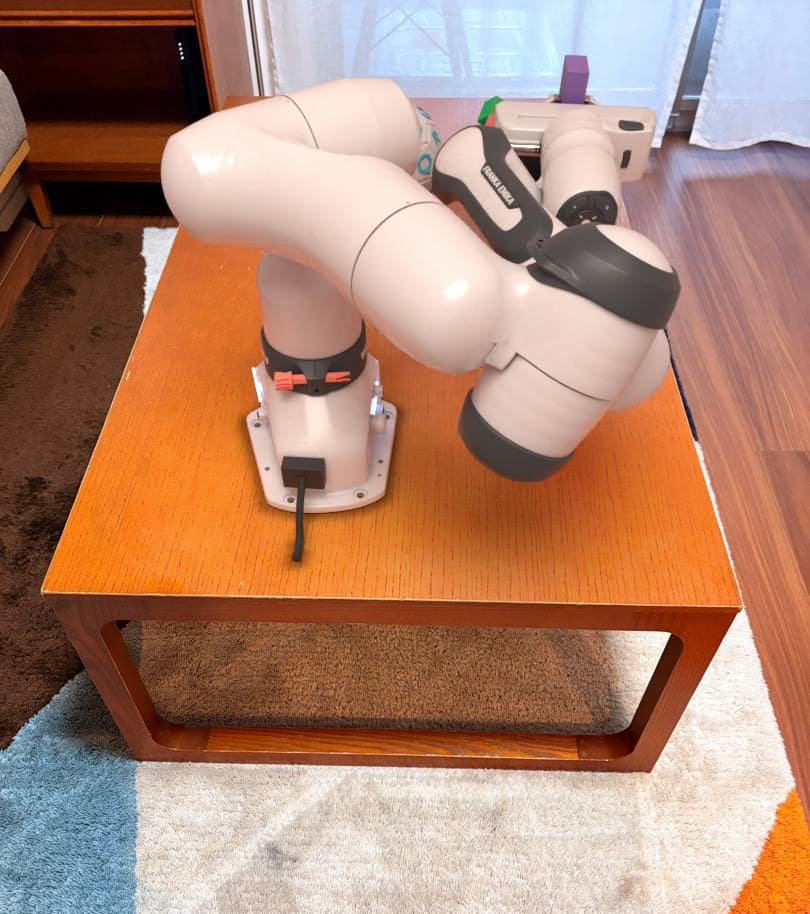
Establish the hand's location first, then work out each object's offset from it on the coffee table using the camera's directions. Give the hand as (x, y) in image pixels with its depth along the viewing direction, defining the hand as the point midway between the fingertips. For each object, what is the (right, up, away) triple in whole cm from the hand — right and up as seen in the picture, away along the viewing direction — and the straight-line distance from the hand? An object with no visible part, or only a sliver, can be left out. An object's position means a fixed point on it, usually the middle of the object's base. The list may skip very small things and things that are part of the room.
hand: (570, 100), depth 108 cm
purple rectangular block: (0, -5, +4) cm, 6 cm away
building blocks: (-3, +14, +40) cm, 43 cm away
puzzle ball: (-23, -1, +28) cm, 37 cm away
